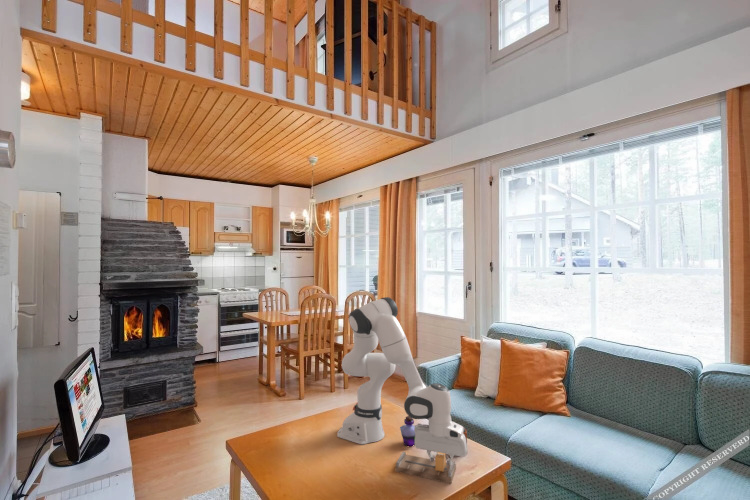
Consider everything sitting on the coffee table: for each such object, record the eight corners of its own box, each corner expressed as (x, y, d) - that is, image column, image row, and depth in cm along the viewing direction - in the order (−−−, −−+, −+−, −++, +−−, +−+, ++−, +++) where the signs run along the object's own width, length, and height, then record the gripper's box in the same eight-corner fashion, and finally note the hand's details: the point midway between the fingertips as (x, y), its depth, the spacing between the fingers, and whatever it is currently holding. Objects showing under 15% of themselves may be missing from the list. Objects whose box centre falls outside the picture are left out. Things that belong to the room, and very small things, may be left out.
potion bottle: (417, 449, 162) (416, 422, 162) (397, 447, 165) (397, 419, 165) (420, 440, 170) (420, 414, 171) (402, 438, 173) (401, 412, 173)
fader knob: (435, 470, 143) (435, 456, 143) (438, 463, 147) (437, 450, 147) (443, 471, 141) (443, 458, 142) (445, 464, 146) (445, 451, 146)
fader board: (395, 471, 146) (395, 463, 146) (402, 458, 155) (402, 450, 155) (451, 483, 138) (451, 474, 138) (455, 469, 147) (455, 460, 147)
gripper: (412, 426, 145) (412, 461, 145) (465, 434, 138) (465, 472, 138) (416, 419, 151) (416, 453, 151) (467, 427, 144) (468, 463, 144)
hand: (440, 462), depth 144 cm, fingers open, 5 cm apart
